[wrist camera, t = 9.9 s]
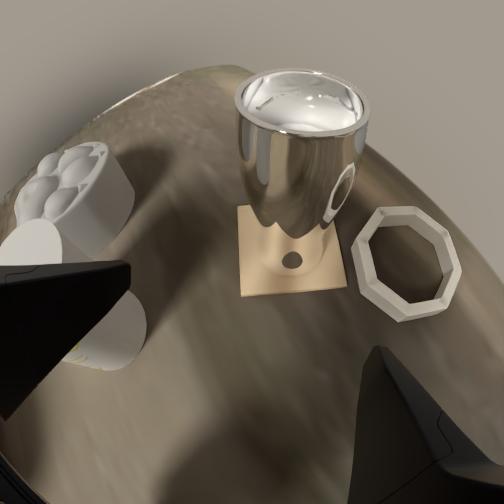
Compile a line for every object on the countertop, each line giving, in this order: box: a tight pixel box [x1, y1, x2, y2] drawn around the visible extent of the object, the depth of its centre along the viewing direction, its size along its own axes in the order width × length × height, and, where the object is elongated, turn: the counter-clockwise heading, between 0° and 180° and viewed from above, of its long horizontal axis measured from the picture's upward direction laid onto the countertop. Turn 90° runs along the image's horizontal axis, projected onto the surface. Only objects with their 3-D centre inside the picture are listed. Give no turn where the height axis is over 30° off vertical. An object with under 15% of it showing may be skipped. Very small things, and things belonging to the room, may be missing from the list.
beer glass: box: [234, 68, 371, 277], centre depth 18 cm, size 7×7×15 cm
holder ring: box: [351, 206, 462, 322], centre depth 23 cm, size 11×11×2 cm
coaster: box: [238, 205, 347, 297], centre depth 25 cm, size 9×9×1 cm
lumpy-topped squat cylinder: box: [14, 142, 135, 259], centre depth 25 cm, size 10×13×9 cm
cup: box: [0, 219, 147, 371], centre depth 17 cm, size 8×8×12 cm
